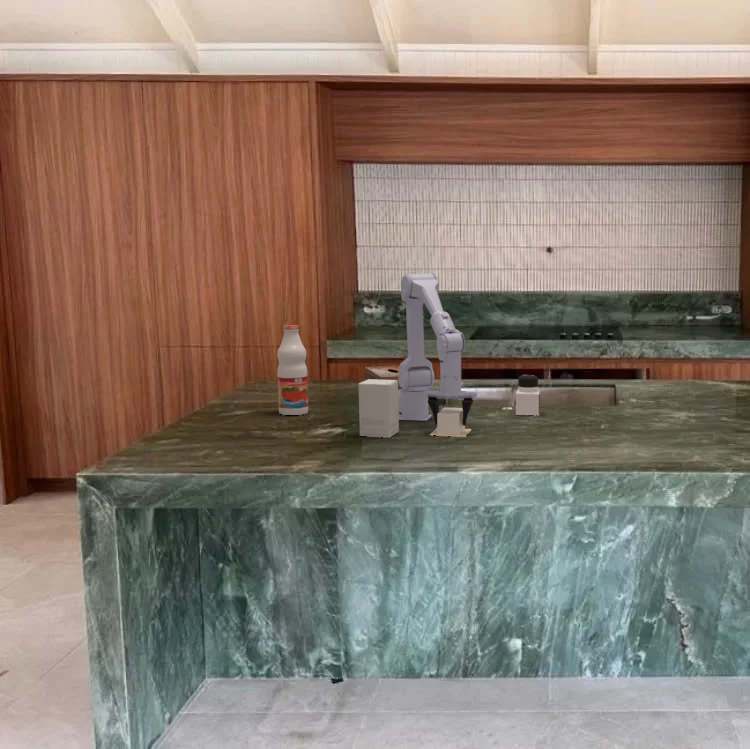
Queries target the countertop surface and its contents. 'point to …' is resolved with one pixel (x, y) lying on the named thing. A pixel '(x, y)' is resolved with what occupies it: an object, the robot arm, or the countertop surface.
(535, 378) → the medicine bottle
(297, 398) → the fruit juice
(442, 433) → the white rectangular prism
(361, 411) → the supplement box
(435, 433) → the mark
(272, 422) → the countertop surface
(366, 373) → the tissue box cover
